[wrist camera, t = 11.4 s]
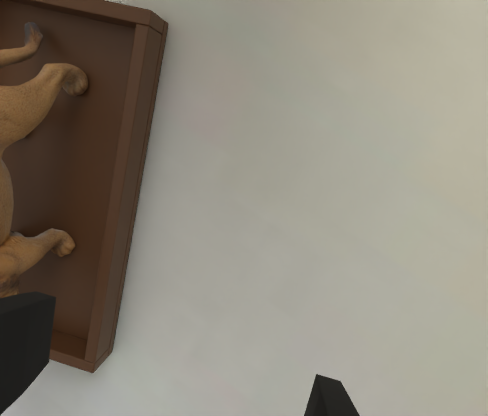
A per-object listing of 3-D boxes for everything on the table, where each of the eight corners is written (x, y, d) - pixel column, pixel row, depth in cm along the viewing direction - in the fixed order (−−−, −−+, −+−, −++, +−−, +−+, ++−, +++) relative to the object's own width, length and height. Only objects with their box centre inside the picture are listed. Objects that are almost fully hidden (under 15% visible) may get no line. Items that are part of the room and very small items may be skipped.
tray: (112, 352, 22) (92, 373, 20) (-35, 305, 23) (-67, 321, 21) (169, 23, 18) (151, 10, 16) (-12, -16, 19) (-49, -33, 17)
